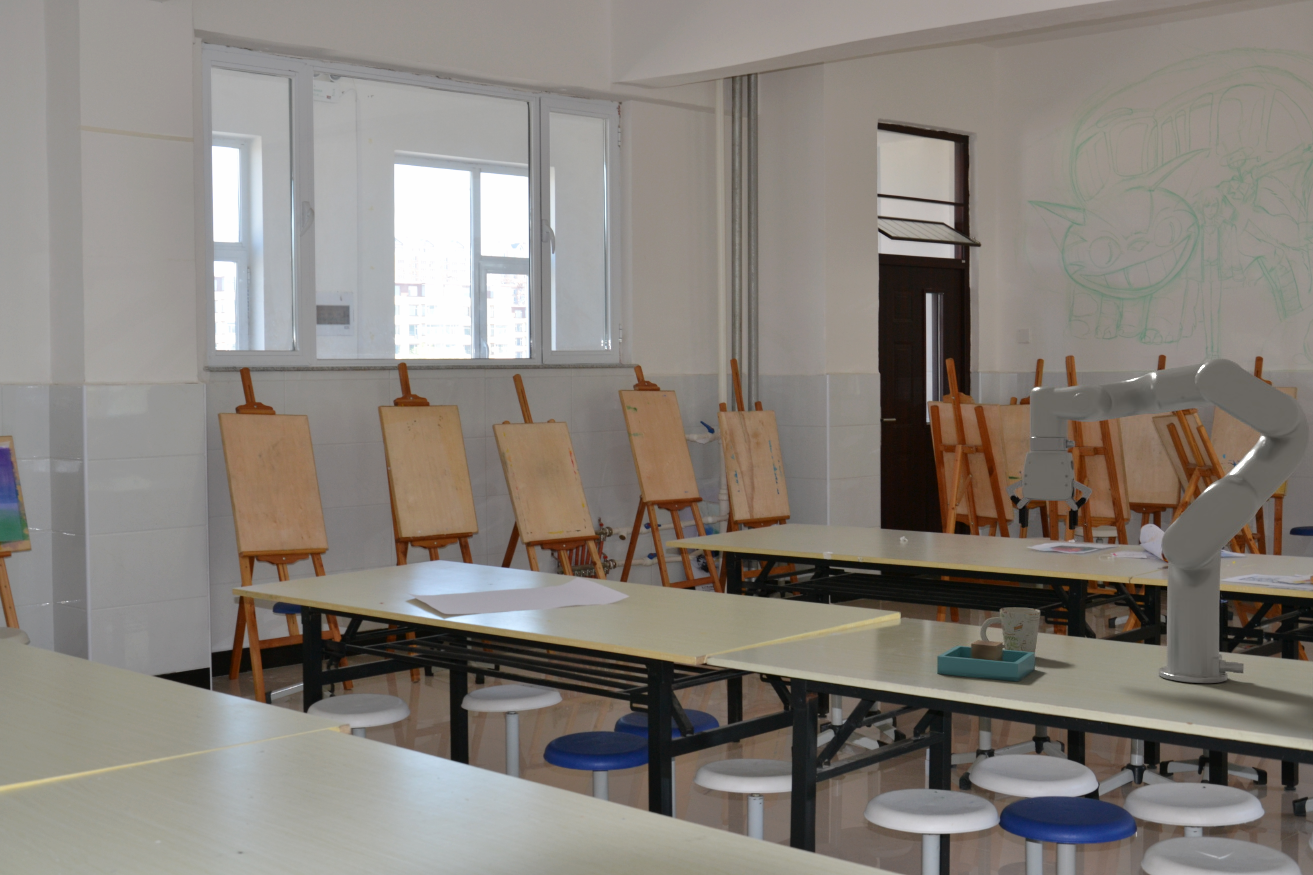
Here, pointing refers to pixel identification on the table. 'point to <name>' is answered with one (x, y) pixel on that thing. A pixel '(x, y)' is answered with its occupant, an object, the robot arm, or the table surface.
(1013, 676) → the tray
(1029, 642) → the mug
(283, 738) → the table surface
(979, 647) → the block
